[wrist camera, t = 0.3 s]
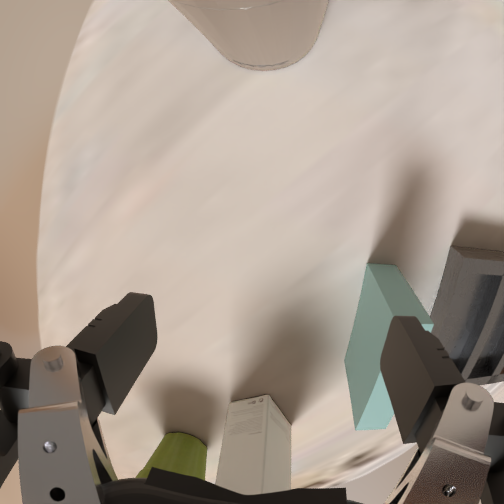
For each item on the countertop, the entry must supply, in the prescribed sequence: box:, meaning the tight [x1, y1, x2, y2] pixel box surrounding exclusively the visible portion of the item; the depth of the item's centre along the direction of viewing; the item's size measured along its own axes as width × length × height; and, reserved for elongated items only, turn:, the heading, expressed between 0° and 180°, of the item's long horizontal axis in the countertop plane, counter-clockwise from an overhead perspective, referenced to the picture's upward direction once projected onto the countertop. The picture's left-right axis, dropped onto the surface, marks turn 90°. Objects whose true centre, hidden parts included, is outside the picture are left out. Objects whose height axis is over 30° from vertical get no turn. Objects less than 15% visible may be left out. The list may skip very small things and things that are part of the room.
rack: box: [430, 246, 504, 385], centre depth 27 cm, size 17×20×3 cm
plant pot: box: [136, 432, 207, 480], centre depth 37 cm, size 12×12×11 cm
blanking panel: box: [344, 263, 434, 430], centre depth 25 cm, size 12×3×10 cm, turn 178°
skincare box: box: [215, 395, 291, 495], centre depth 31 cm, size 8×6×15 cm
